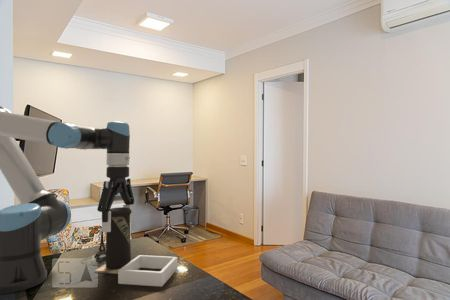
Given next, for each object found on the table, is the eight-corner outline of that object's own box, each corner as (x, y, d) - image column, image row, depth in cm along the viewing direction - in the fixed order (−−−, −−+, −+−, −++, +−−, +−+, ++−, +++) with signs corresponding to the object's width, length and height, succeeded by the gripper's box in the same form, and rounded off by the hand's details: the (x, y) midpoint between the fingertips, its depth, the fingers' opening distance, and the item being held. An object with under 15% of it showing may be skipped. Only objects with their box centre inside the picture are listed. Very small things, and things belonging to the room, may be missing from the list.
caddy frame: (118, 283, 90) (118, 270, 90) (139, 266, 103) (139, 255, 104) (161, 286, 87) (161, 272, 87) (177, 268, 101) (177, 256, 101)
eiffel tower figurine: (103, 251, 122) (102, 219, 122) (124, 253, 119) (124, 220, 119) (75, 264, 107) (75, 227, 108) (99, 267, 105) (99, 229, 105)
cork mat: (94, 272, 99) (94, 270, 99) (112, 260, 109) (112, 259, 110) (125, 274, 97) (125, 272, 97) (140, 262, 108) (140, 260, 108)
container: (123, 270, 98) (123, 210, 98) (99, 269, 100) (99, 209, 100) (136, 261, 106) (136, 206, 107) (113, 260, 108) (113, 205, 109)
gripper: (107, 167, 91) (107, 236, 90) (143, 165, 115) (143, 219, 115) (85, 167, 92) (84, 235, 92) (125, 164, 117) (125, 218, 116)
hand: (117, 226), depth 103 cm, fingers open, 13 cm apart
